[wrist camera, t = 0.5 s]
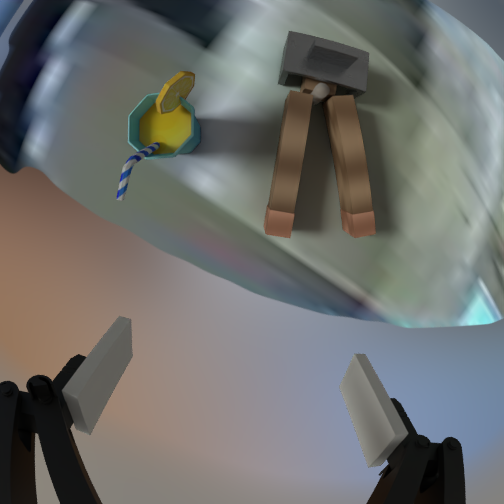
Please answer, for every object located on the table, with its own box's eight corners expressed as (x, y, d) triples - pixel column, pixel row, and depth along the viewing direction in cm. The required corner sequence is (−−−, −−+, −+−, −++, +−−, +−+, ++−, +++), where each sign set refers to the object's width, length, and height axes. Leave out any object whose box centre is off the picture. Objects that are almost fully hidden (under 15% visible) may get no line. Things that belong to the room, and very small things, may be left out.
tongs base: (290, 63, 32) (296, 49, 27) (331, 72, 33) (341, 60, 28) (263, 226, 39) (265, 234, 34) (304, 232, 39) (312, 241, 34)
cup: (188, 198, 38) (152, 215, 23) (139, 180, 37) (83, 188, 22) (225, 105, 34) (211, 67, 20) (175, 89, 33) (136, 50, 19)
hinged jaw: (321, 104, 34) (331, 96, 29) (341, 103, 34) (354, 94, 29) (342, 229, 39) (355, 237, 34) (361, 226, 39) (375, 233, 34)
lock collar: (283, 48, 31) (293, 15, 22) (354, 66, 32) (381, 41, 22) (277, 84, 33) (286, 57, 23) (350, 101, 33) (379, 83, 24)
